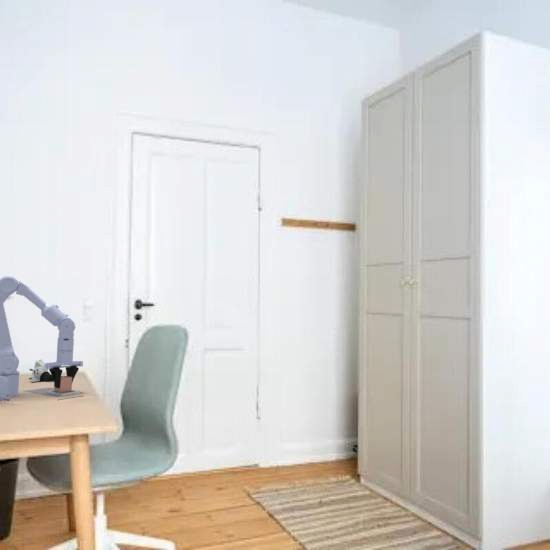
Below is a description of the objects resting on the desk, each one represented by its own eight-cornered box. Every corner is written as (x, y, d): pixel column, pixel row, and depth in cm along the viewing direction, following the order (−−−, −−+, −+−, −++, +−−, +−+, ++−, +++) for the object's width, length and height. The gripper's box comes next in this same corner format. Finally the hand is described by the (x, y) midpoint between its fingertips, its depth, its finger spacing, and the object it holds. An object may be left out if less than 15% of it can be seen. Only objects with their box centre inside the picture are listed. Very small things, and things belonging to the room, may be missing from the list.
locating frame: (79, 393, 212) (80, 391, 212) (61, 396, 205) (61, 393, 205) (64, 390, 217) (65, 388, 217) (45, 393, 209) (45, 391, 209)
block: (71, 390, 211) (72, 377, 212) (60, 391, 208) (61, 378, 208) (64, 389, 214) (65, 375, 214) (53, 390, 211) (54, 376, 211)
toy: (37, 363, 253) (59, 357, 245) (36, 389, 249) (58, 384, 241) (24, 361, 248) (46, 355, 240) (23, 388, 244) (45, 383, 236)
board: (84, 396, 214) (84, 392, 214) (57, 400, 203) (57, 396, 203) (49, 390, 224) (49, 387, 224) (22, 394, 213) (22, 390, 214)
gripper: (76, 348, 220) (74, 384, 219) (41, 350, 208) (39, 387, 208) (86, 350, 216) (85, 386, 215) (52, 351, 204) (50, 389, 203)
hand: (63, 387), depth 211 cm, fingers closed on block, 4 cm apart
